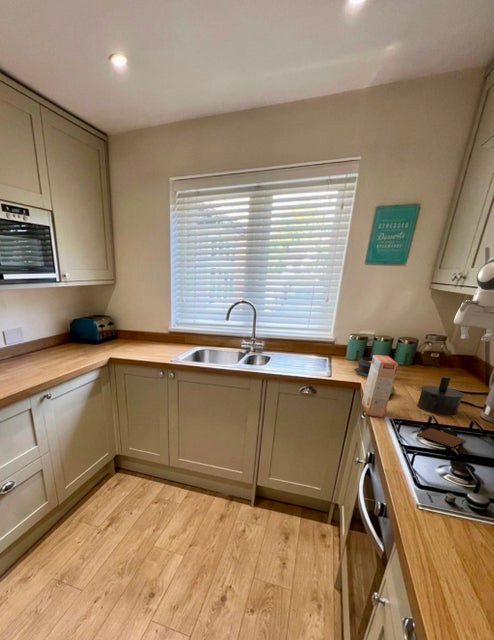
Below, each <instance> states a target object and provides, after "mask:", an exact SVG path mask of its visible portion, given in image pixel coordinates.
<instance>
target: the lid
mask: <svg viewBox="0 0 494 640" xmlns="http://www.w3.org/2000/svg"><path fill="white" fill-rule="evenodd" d="M450 382H451V377H450V376H445V375H443V376H441V379H440V382H439V385H422V386H421V388H420V391H424V392H426V393H429V394H432V395H436V396H441V397H448V398H462V399H463V398H464V396H465V394H464V393H463V392H461V391H460V390H457V389H454V388H449V385H450Z"/></svg>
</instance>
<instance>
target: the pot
mask: <svg viewBox="0 0 494 640" xmlns="http://www.w3.org/2000/svg"><path fill="white" fill-rule="evenodd" d="M420 391H421V392H420V394H419V398H418V401H417V404H416V406H417V408H418V409H419V410H422V411H424V412H427V413H430V414H434V415H440V416H447V417H448V416H449V417H450V416H455V415H457V414H458V411H459V408H460V406H461V403H462V399H463V397H462V398H448V397H441V396H436V395H432V394H429V393H426V392H424V391H422V390H420ZM430 414H425V413H424V415H425V416H428V417H430ZM434 418H435V419H436V418H437V417H435V416H434Z"/></svg>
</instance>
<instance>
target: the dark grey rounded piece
mask: <svg viewBox="0 0 494 640" xmlns="http://www.w3.org/2000/svg"><path fill="white" fill-rule="evenodd" d="M372 358H373V357H369V356H368V357H367V356H366V357H361V358H359V360H358V361H357V364H358V367H355V368H354V372H355V373H357V374H360V375H361V376H362V377H366V378H368V375H369V371H370V366H371V362H372Z"/></svg>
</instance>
